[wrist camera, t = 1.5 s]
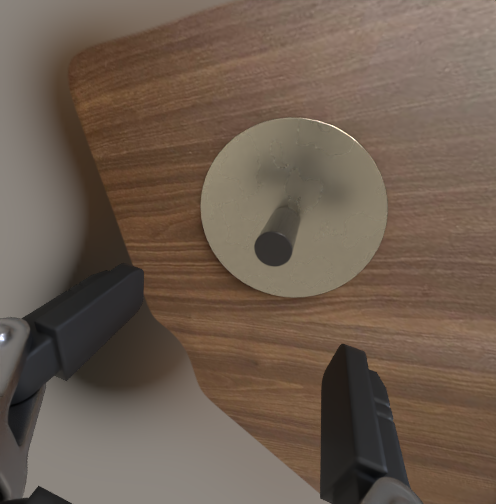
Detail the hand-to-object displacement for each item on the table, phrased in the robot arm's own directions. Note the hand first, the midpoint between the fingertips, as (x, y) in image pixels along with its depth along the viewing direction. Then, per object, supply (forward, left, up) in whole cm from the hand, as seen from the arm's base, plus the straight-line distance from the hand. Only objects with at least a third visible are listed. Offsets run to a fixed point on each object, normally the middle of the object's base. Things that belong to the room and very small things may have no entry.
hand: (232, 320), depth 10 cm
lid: (0, 0, -13) cm, 13 cm away
